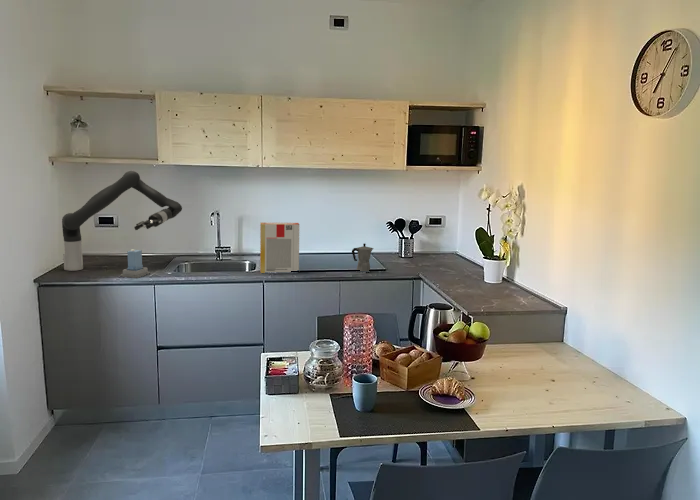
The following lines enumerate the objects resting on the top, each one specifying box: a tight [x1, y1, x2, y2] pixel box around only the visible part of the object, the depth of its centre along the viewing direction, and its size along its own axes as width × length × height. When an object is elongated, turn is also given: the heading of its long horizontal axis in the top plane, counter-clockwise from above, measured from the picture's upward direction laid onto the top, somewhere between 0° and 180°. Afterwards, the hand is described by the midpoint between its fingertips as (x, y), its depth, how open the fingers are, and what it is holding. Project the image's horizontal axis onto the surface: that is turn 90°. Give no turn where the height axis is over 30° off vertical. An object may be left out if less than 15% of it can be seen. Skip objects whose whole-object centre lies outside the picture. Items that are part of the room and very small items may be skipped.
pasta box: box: [259, 222, 300, 274], centre depth 328 cm, size 23×8×30 cm, turn 100°
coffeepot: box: [351, 242, 374, 271], centre depth 337 cm, size 15×9×18 cm, turn 119°
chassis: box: [120, 266, 151, 279], centre depth 311 cm, size 11×12×4 cm
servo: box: [126, 249, 144, 271], centre depth 310 cm, size 5×9×14 cm, turn 166°
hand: (140, 228), depth 316 cm, fingers open, 8 cm apart
